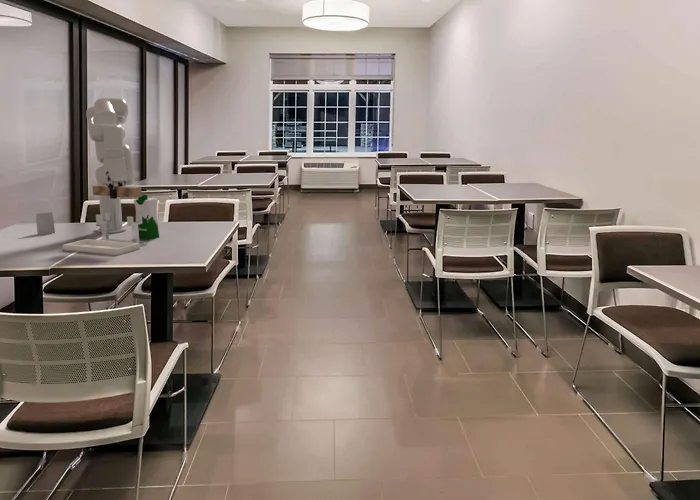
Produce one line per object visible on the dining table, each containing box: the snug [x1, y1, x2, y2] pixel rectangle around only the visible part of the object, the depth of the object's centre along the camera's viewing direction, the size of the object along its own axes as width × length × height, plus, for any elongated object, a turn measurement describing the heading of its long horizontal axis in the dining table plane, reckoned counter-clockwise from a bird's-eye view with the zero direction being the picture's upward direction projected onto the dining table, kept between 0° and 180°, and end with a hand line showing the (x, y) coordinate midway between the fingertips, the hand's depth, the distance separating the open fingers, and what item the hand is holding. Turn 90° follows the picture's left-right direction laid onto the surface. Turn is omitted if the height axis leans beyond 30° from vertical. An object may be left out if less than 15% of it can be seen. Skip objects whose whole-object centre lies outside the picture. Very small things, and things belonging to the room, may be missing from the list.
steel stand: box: [95, 213, 148, 248], centre depth 261 cm, size 22×7×13 cm, turn 72°
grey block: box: [35, 211, 56, 236], centre depth 287 cm, size 4×7×10 cm, turn 132°
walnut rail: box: [91, 184, 143, 199], centre depth 258 cm, size 22×4×4 cm, turn 72°
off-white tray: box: [62, 238, 141, 256], centre depth 251 cm, size 28×14×2 cm, turn 72°
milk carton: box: [133, 194, 160, 240], centre depth 277 cm, size 9×9×20 cm
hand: (117, 197), depth 259 cm, fingers closed on walnut rail, 4 cm apart
